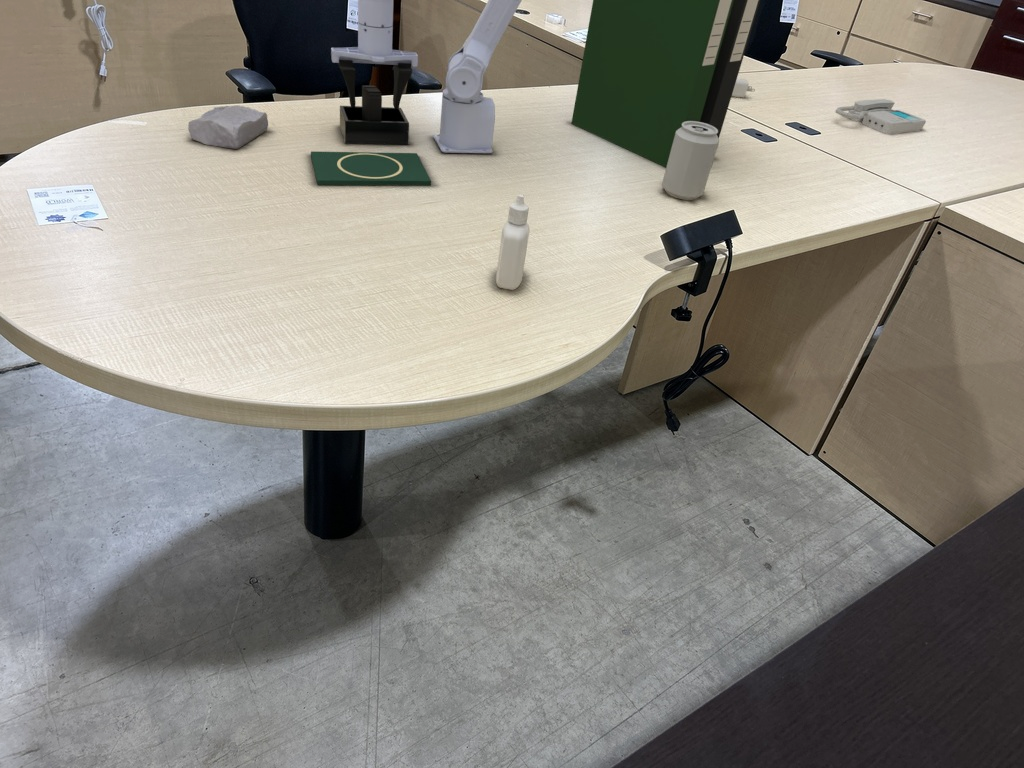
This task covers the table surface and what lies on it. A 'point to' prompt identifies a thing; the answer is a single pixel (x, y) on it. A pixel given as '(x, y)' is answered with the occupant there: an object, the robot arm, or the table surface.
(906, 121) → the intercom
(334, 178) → the desk mat
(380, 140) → the pen tray
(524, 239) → the eye dropper bottle
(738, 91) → the usb wall charger
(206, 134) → the stone block
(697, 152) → the can
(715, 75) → the binder
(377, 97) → the ink cartridge
